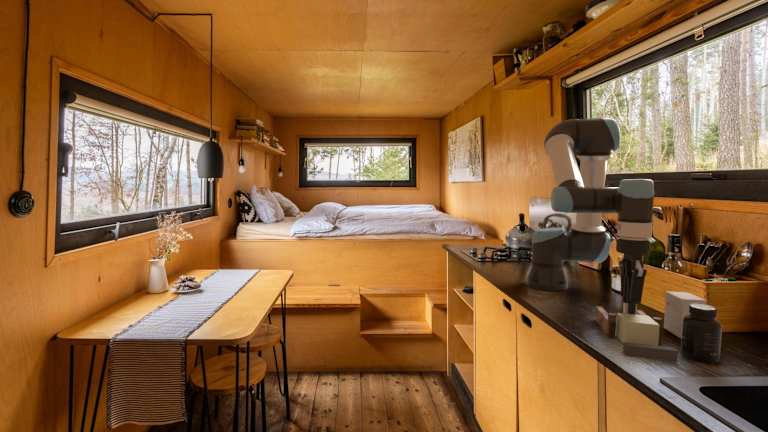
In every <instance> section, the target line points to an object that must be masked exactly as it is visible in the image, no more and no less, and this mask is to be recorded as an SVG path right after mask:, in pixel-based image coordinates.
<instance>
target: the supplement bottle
mask: <svg viewBox="0 0 768 432" xmlns="http://www.w3.org/2000/svg"><path fill="white" fill-rule="evenodd" d="M689 313H690V314H689V315H686V316H684V318H683V322H682V337H681V338H680V339H681V341H680V353H681V354H682V356H683V357H684V358H687V359H689V360H691V361H694V362H697V363H702V364H703V363H704V364H711V365H712V364H717V363H719V361H720V357H721V345H722V333H723V331H722V330H723V325H722V323H721V322H720V321H719V320H718V319H717V318H718V308H717V307H715V306H712V305H709V304H706V305H705V304H696V303H693V304H690V305H689Z"/></svg>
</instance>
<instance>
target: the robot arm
mask: <svg viewBox="0 0 768 432" xmlns="http://www.w3.org/2000/svg"><path fill="white" fill-rule="evenodd" d="M620 130H621V129H620V125H619V124H618V122H617V120H616V119H615V118H611V117H598V118H597V117H596V118H595V117H594V118H593V117H591V118H578V119H577V118H576V119H575V118H573V119H572V118H571V119H567V120H562V121H561V122H558V123H556V124H555V125H554V126H553V127H552V128H551V129H550V130H549V131H548V132H547V133H546V135H545V138H544V142H543V146H544V151H545V154H547V156H549V161H550V165H551V169H552V174H553V178H554V183H555V187H554V188H552V190H551V194H550V202H551V203H550V206H551V209H552V211H553V212H556V213H564V214H572V213H573V214H575V213H576V214H575V215H576V217H575V223H574V224H572V225H571V227H570V231H566V229H565V227H547V228H545V227H544V228H540V229H536V230H534V232H533V233H532V239H531V246H532V247H531V266H530V269H529V271H528V274H527V276H526V279H525V281H526V282H525V285H526V286H528V287H529V288H532V289H536V290H539V291H549V292H551V291H552V292H563V291H566V290H567V289H568V285H569V283H568V279H567V276H566V272H565V270H564V262H572V263H573V262H574V263H589V264H592V263H593V264H594V263H597V264H598V263H599V264H600V263H603V262H604V261H606V260H607V259H608V257H609V254H610V249H611V245H612V244H611V240H612V239H611V236H610V234H609V233H608V232H606V230H607V229H606V227H604V226H603V222H602V221H603V214H617V224H615V226H614V229H616V232H617V233H616V236H617V238H616V242H615V243H616V245H615V250H616V252H617V253H620V254H623V256H622V259H621V260H619V261H618V263H619V269H620V271H619V272H620V274H619V275H620V296H621V297H622V303H623V305H622V306H623V309H622V313H625V314H636V315H637V310H638V304H641V303H642V297H643V291H644V285H645V278H646V275H647V273H648V270H647V269H646V268H644V267H645V264H644V261H643V256H648V255H650V254H651V252H652V251H651V250H652V241H651V240H650V239H652V237H653V236H652V235H653V213H654V199H655V185H654V184H655V183H654V181H653V180H652V179H647V178H645V179H644V178H636V179H635V178H633V179H631V178H630V179H621V180H620V181H619V184H618V186H615V187H613V186H612V187H611V186H610V187H609V186H608V187H607V186H606V176H607V165H608V160H609V159H610V158H612V157H613V152H615V151H617V150H619V148H620V144H621V131H620ZM574 152H576V153H574ZM575 156H576V157H575ZM576 158H577V159H578V160H579V163H580V164H579V166H578V163H577V160H576Z"/></svg>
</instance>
